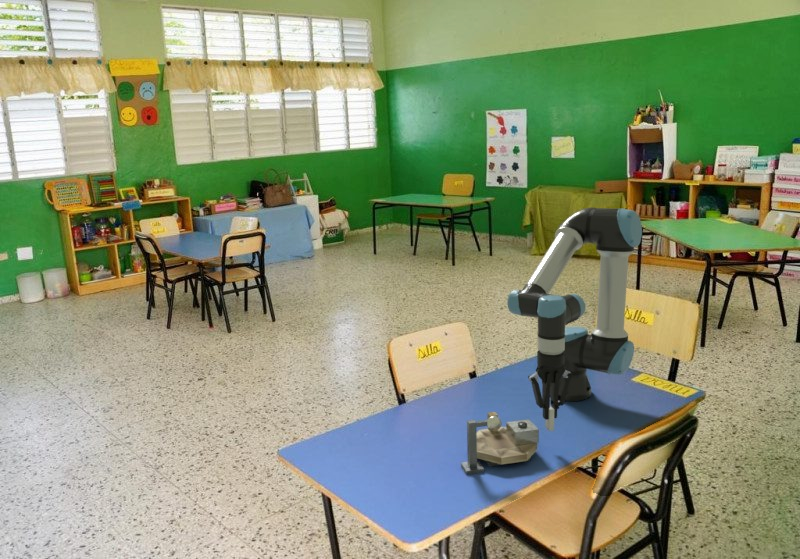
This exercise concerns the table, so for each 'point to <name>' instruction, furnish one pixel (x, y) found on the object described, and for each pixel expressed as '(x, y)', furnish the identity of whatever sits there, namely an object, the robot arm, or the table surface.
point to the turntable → (501, 446)
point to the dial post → (473, 463)
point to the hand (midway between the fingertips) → (549, 428)
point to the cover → (522, 432)
